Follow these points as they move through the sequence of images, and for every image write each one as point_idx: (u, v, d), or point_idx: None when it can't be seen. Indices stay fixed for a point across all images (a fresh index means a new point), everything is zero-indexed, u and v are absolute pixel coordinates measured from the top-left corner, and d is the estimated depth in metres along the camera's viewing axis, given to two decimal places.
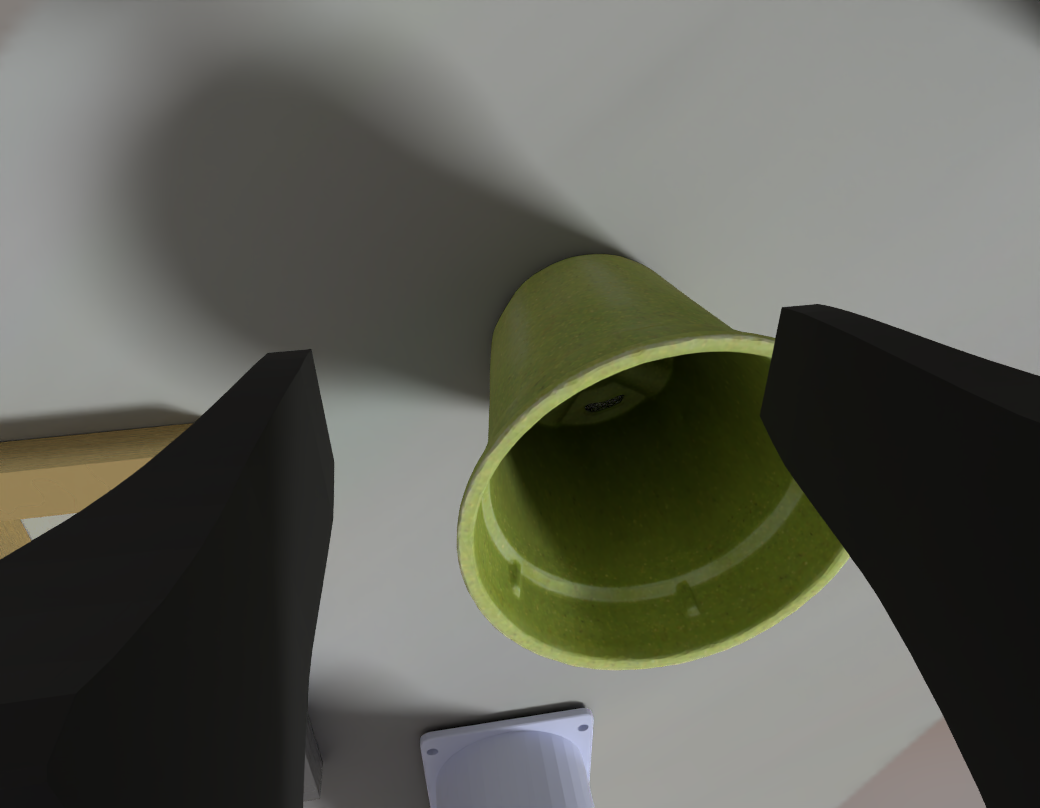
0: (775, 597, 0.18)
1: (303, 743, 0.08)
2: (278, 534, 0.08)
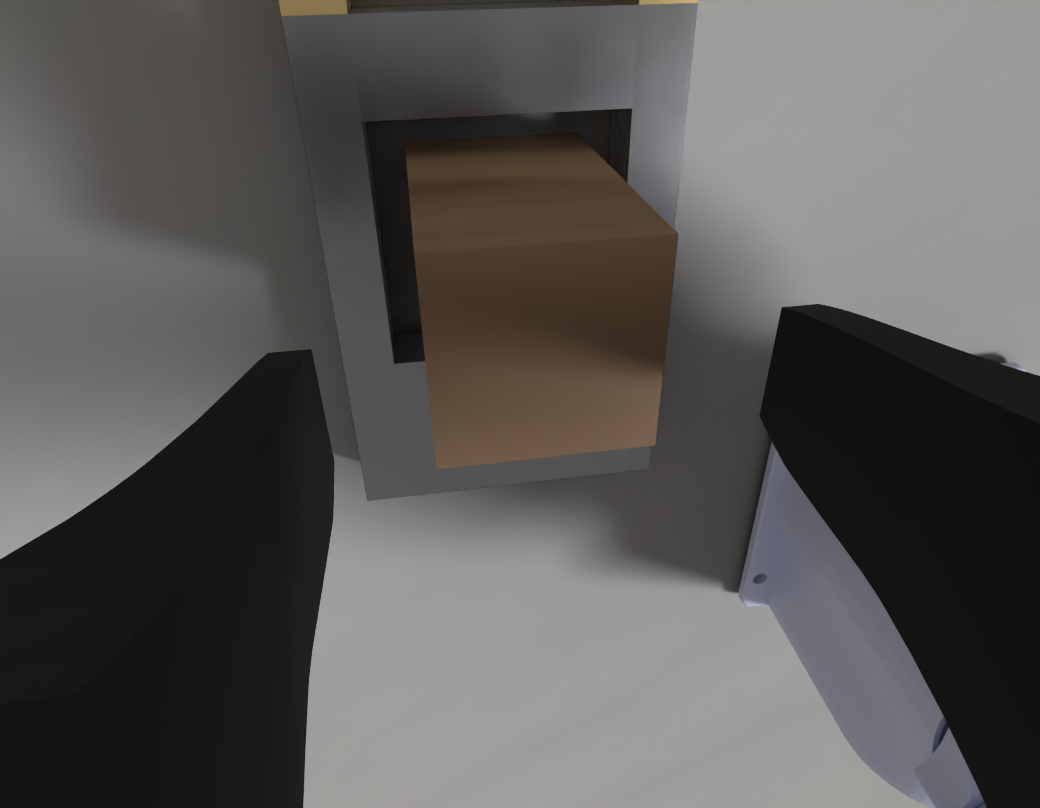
0: None
1: (303, 743, 0.08)
2: (278, 534, 0.08)
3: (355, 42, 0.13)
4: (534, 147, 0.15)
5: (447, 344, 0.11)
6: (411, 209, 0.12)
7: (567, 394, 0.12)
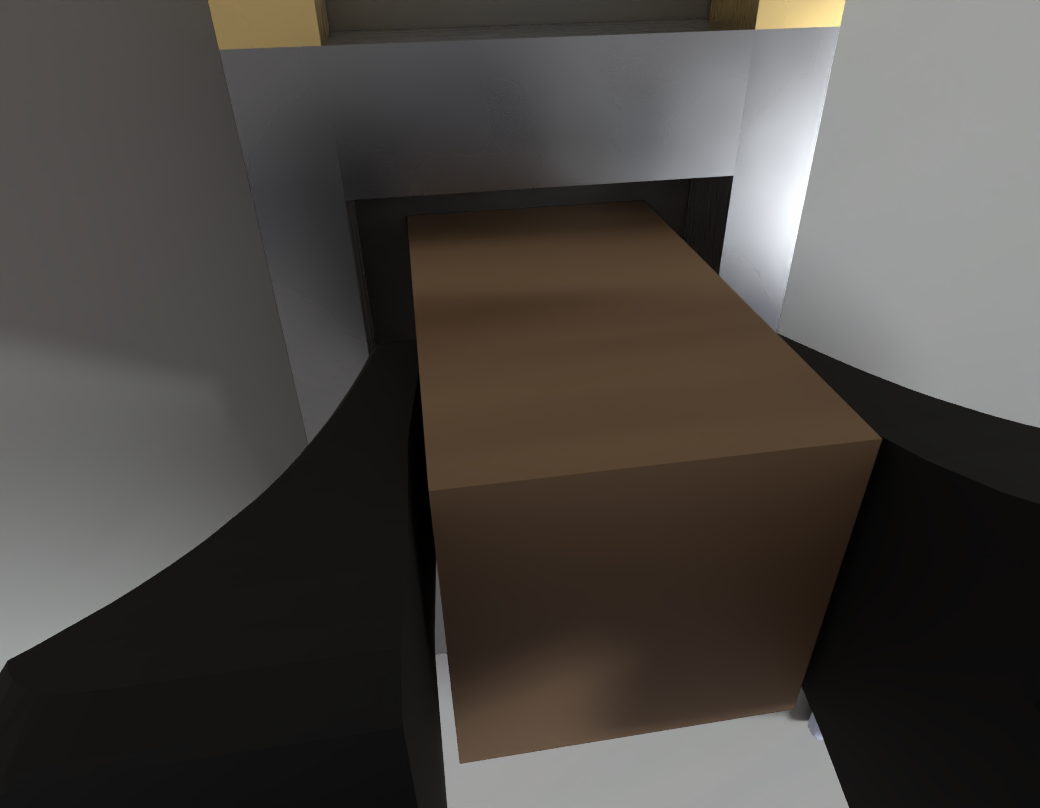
0: None
1: (439, 722, 0.08)
2: (420, 517, 0.08)
3: (333, 87, 0.09)
4: (590, 229, 0.11)
5: (483, 612, 0.07)
6: (420, 366, 0.07)
7: (671, 660, 0.08)
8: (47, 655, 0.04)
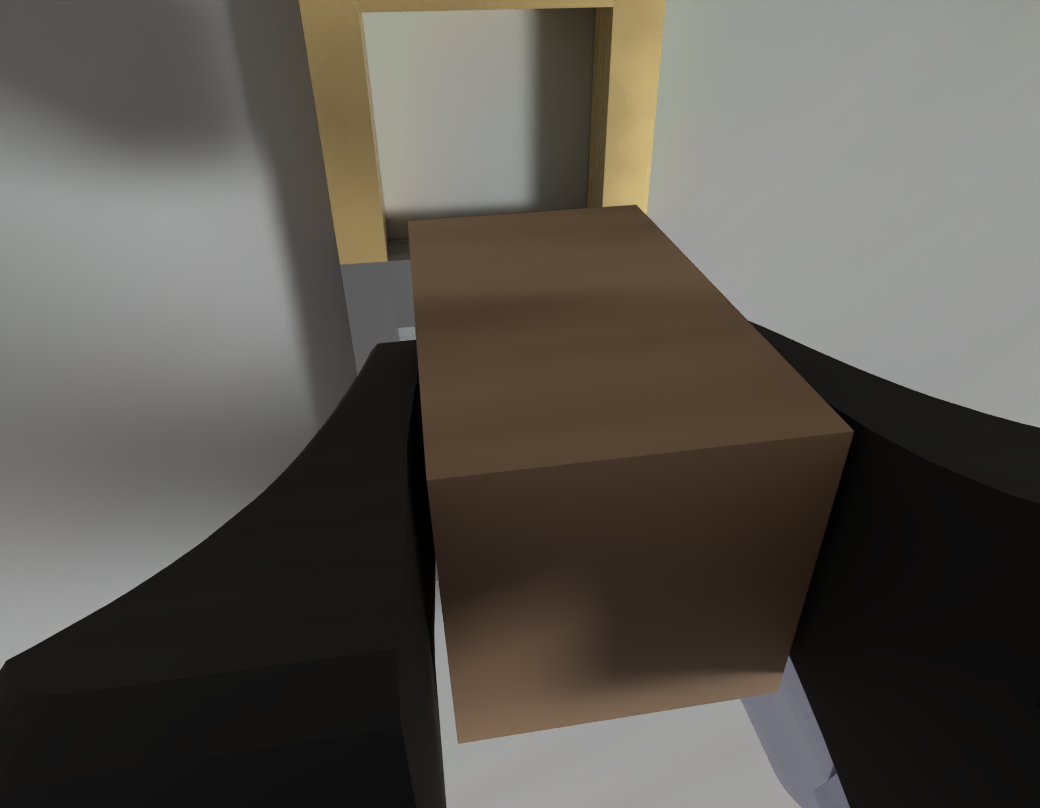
0: None
1: (438, 722, 0.08)
2: (419, 517, 0.08)
3: (392, 278, 0.18)
4: (584, 232, 0.11)
5: (478, 595, 0.07)
6: (419, 364, 0.08)
7: (658, 643, 0.08)
8: (47, 655, 0.04)
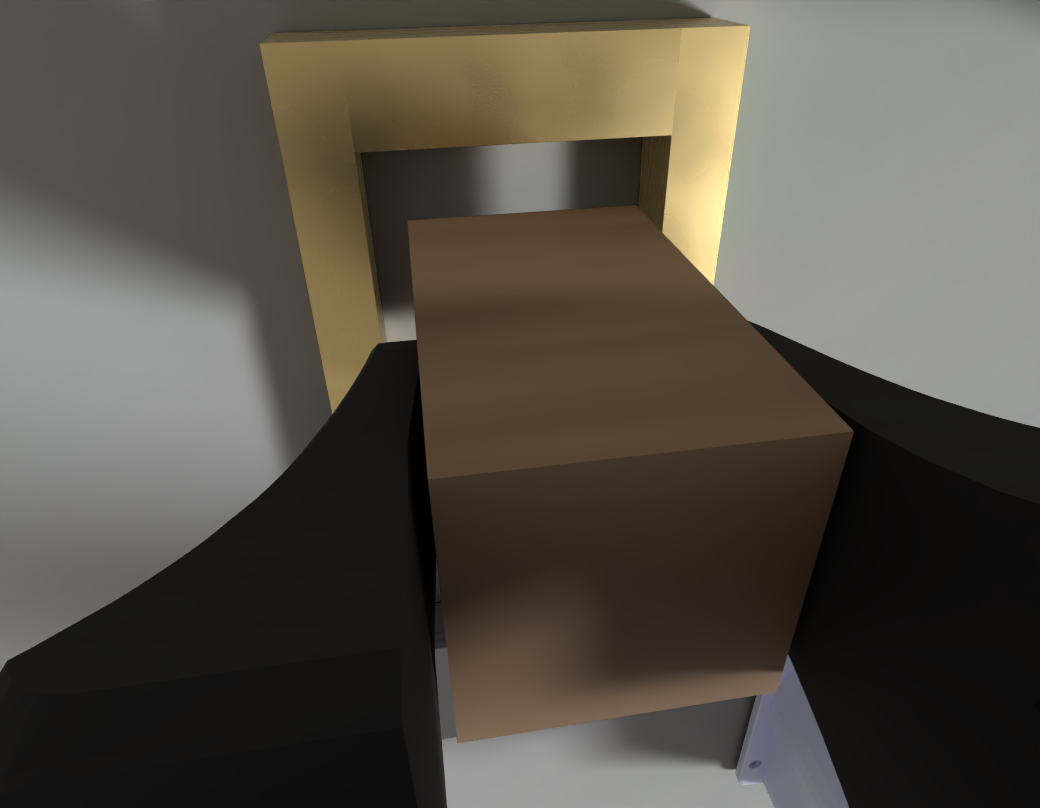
0: None
1: (439, 722, 0.08)
2: (420, 517, 0.08)
3: None
4: (584, 233, 0.11)
5: (478, 594, 0.07)
6: (420, 364, 0.08)
7: (657, 643, 0.08)
8: (47, 655, 0.04)
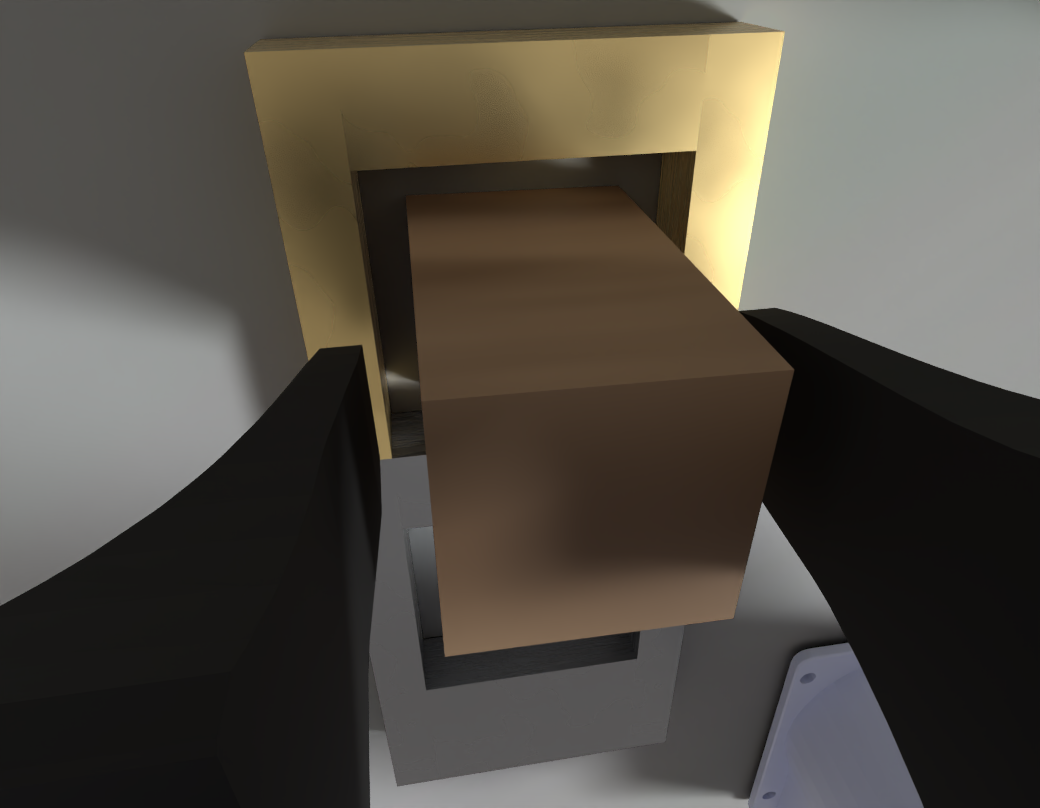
0: None
1: (367, 733, 0.08)
2: (344, 526, 0.08)
3: (398, 476, 0.14)
4: (568, 207, 0.12)
5: (465, 512, 0.08)
6: (416, 313, 0.09)
7: (625, 565, 0.09)
8: None
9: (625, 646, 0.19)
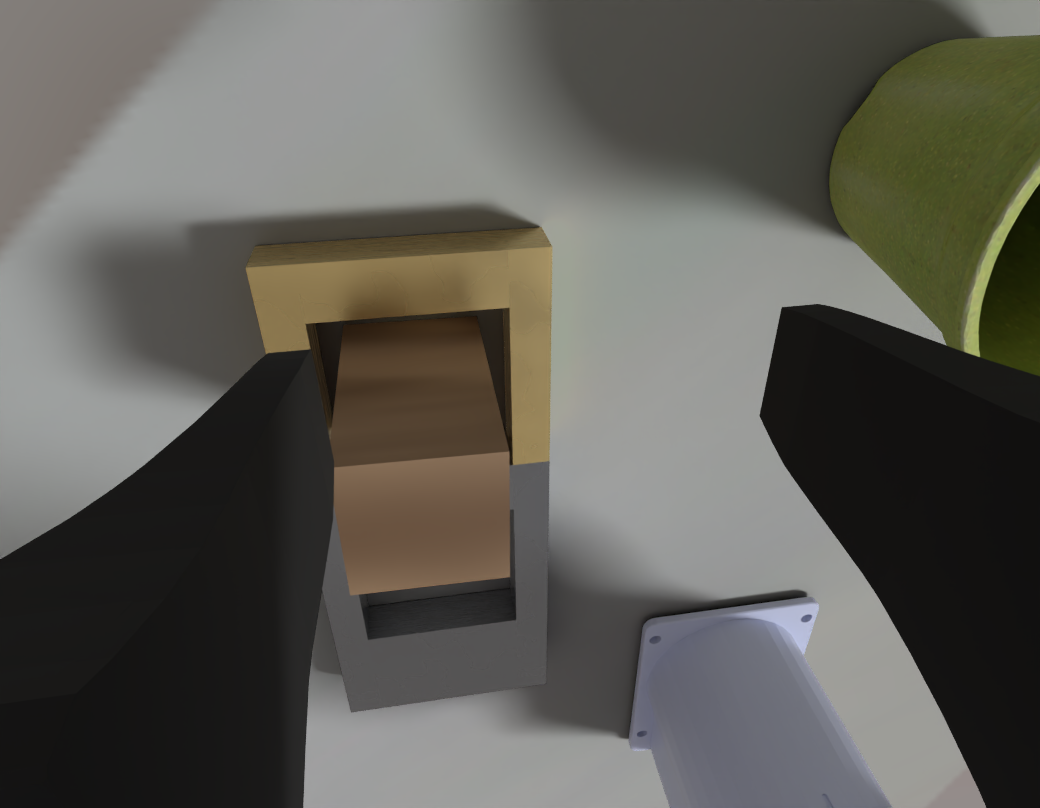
0: None
1: (303, 743, 0.08)
2: (278, 534, 0.08)
3: None
4: (439, 336, 0.21)
5: (353, 519, 0.16)
6: (333, 416, 0.17)
7: (441, 547, 0.17)
8: None
9: (509, 611, 0.27)
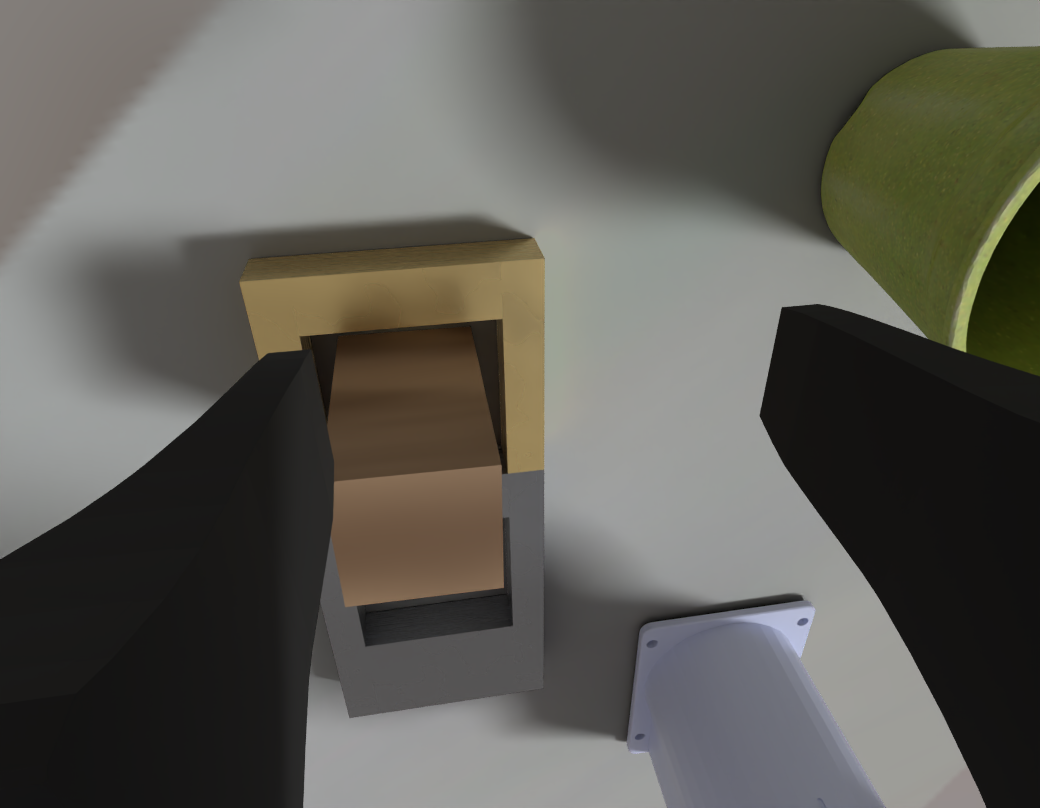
0: None
1: (303, 743, 0.08)
2: (278, 534, 0.08)
3: None
4: (433, 347, 0.21)
5: (347, 532, 0.16)
6: None
7: (435, 558, 0.17)
8: None
9: (506, 617, 0.27)
